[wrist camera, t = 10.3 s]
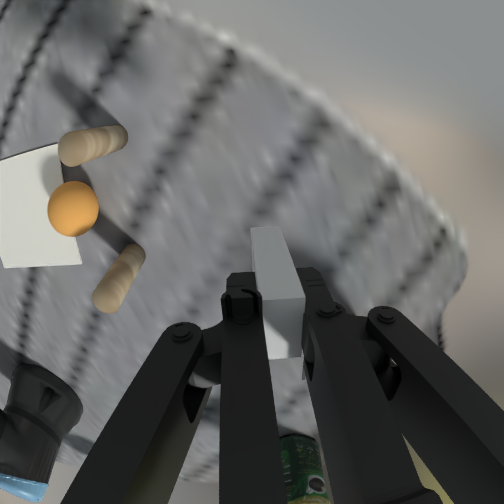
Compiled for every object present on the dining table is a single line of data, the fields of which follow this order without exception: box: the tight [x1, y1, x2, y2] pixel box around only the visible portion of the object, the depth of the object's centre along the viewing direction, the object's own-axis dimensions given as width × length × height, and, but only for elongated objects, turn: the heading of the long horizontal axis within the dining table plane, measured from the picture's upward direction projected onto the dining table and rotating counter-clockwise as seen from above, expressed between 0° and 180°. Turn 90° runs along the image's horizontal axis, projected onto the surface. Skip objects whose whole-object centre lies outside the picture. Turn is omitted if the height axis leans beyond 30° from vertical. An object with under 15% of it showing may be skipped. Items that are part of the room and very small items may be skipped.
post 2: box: [92, 244, 146, 314], centre depth 27 cm, size 3×3×9 cm
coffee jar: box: [279, 435, 331, 504], centre depth 41 cm, size 10×8×19 cm
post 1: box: [58, 125, 128, 167], centre depth 22 cm, size 3×3×9 cm
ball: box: [47, 181, 99, 237], centre depth 26 cm, size 6×6×6 cm
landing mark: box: [0, 144, 82, 268], centre depth 28 cm, size 14×14×1 cm
